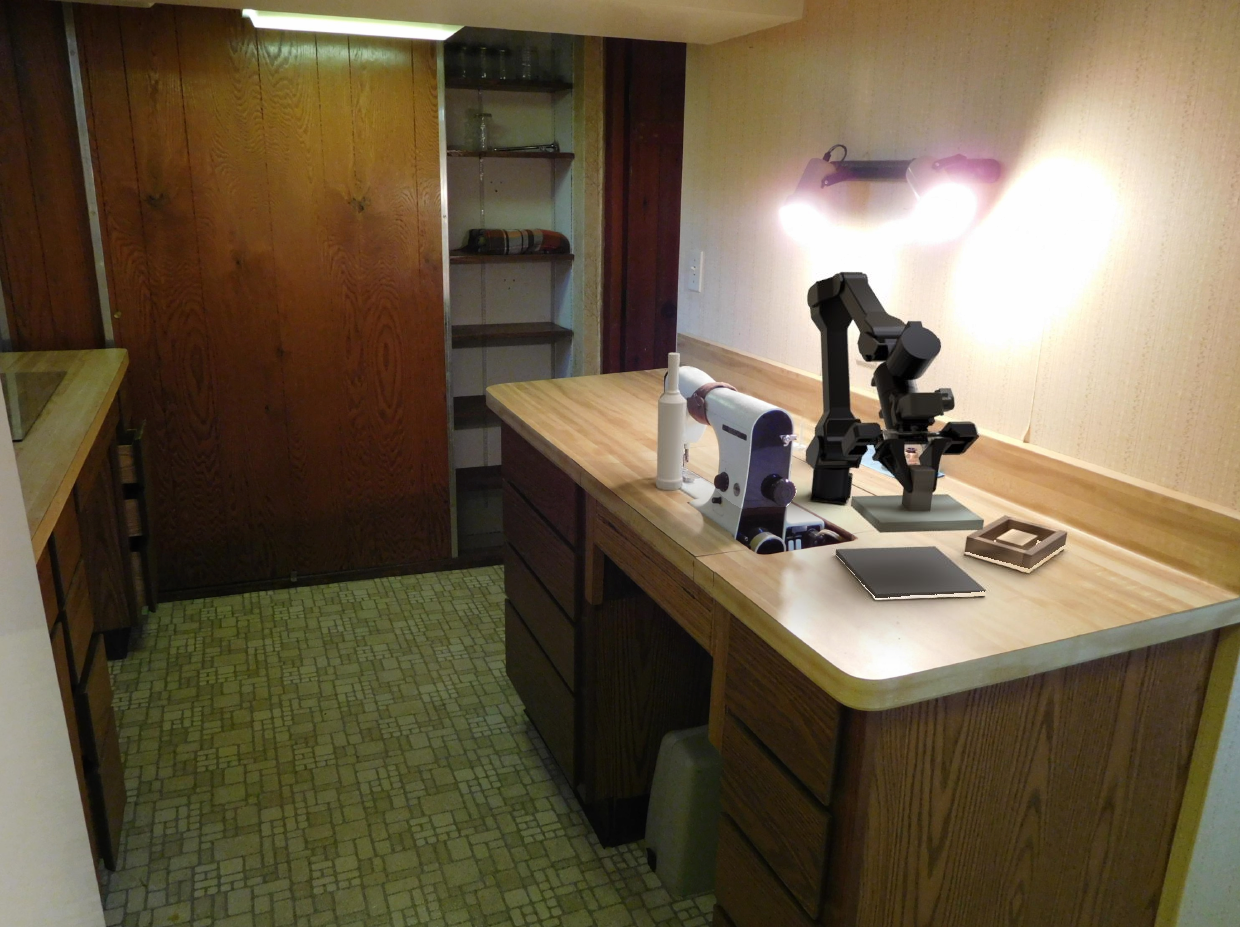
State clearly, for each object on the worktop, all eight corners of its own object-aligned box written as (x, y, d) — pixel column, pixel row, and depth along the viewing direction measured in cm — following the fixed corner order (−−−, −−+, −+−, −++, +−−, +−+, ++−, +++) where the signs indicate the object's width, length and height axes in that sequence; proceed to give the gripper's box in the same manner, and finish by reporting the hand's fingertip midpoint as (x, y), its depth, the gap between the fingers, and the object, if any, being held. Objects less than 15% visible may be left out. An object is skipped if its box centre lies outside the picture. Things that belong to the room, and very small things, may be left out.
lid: (850, 505, 137) (855, 457, 135) (946, 503, 139) (952, 455, 137) (879, 532, 127) (885, 480, 125) (982, 529, 129) (990, 478, 127)
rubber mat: (835, 555, 142) (836, 549, 142) (934, 552, 144) (935, 546, 144) (875, 600, 127) (876, 593, 127) (985, 596, 129) (986, 590, 129)
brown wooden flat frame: (964, 554, 144) (966, 536, 143) (1002, 532, 153) (1005, 515, 152) (1028, 573, 137) (1031, 555, 136) (1064, 549, 147) (1067, 531, 146)
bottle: (650, 487, 171) (654, 354, 164) (662, 480, 176) (667, 350, 168) (675, 492, 169) (681, 357, 162) (687, 484, 173) (693, 353, 166)
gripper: (856, 367, 129) (879, 466, 122) (982, 367, 132) (1011, 464, 125) (832, 408, 139) (851, 502, 132) (949, 407, 142) (974, 499, 134)
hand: (922, 491), depth 131 cm, fingers closed on lid, 3 cm apart
